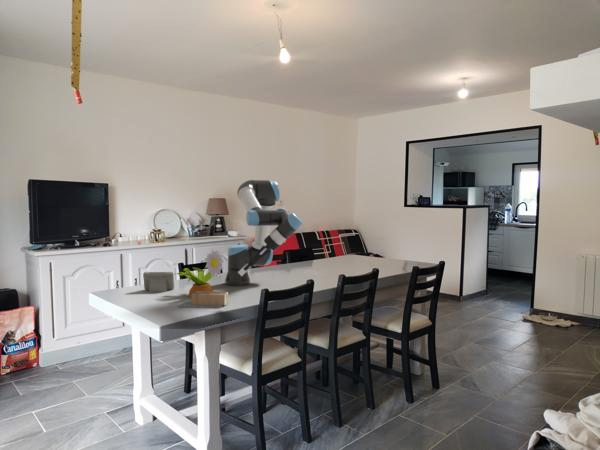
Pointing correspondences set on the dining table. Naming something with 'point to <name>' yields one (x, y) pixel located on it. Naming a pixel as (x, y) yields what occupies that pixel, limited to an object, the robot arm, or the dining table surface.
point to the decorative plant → (200, 283)
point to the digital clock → (158, 281)
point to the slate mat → (189, 304)
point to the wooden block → (209, 298)
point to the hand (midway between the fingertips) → (240, 274)
